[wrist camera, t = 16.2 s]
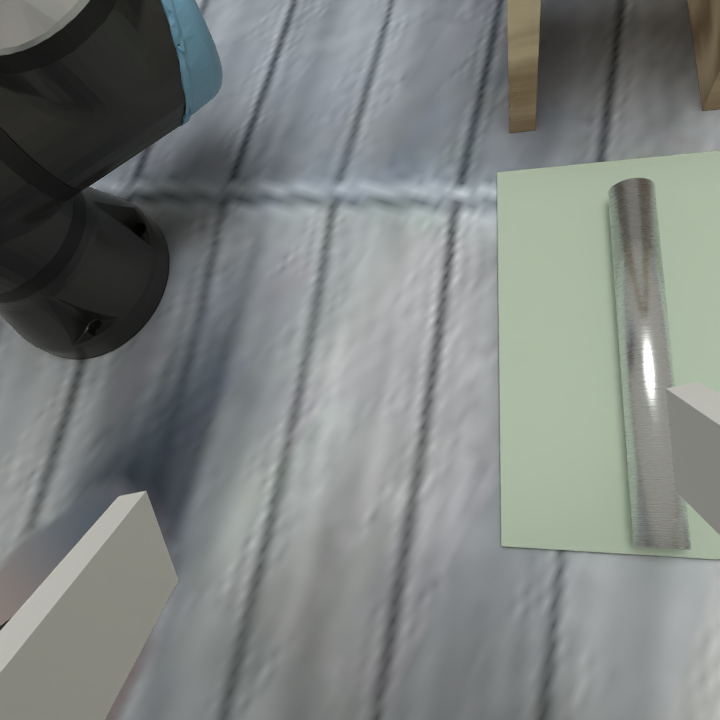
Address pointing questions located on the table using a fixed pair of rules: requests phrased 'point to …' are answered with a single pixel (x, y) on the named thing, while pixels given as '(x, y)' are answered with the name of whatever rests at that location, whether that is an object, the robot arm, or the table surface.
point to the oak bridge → (709, 31)
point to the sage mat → (592, 344)
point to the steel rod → (645, 366)
